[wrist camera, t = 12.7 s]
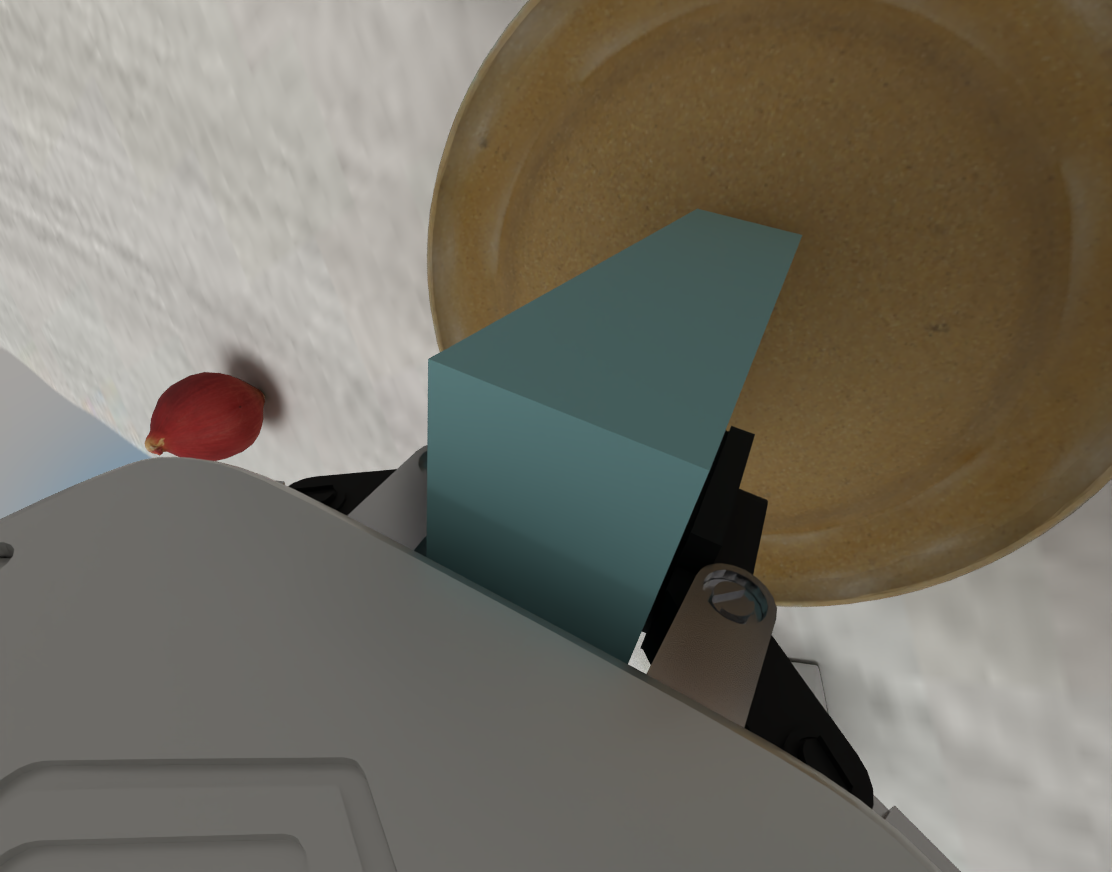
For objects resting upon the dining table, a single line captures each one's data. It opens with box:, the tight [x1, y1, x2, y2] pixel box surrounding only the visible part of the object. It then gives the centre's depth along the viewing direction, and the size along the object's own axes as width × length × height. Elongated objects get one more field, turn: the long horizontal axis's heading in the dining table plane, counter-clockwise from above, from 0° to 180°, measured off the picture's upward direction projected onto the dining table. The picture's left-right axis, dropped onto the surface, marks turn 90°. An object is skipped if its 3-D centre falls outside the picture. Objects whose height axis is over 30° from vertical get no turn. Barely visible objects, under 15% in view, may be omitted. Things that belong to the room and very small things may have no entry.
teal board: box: [426, 209, 802, 664], centre depth 12 cm, size 3×9×12 cm, turn 170°
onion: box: [145, 372, 265, 461], centre depth 34 cm, size 6×6×8 cm
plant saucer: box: [427, 0, 1112, 607], centre depth 19 cm, size 24×24×3 cm
